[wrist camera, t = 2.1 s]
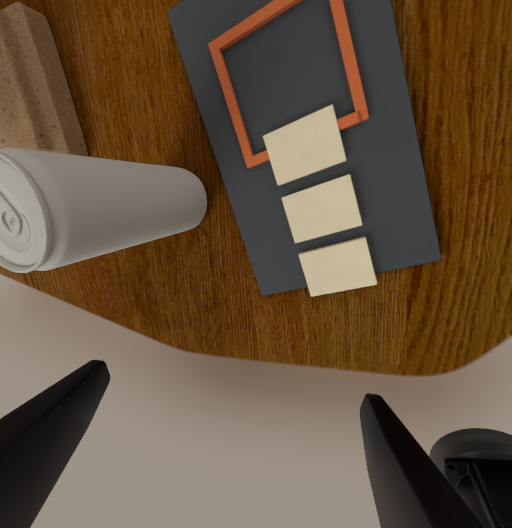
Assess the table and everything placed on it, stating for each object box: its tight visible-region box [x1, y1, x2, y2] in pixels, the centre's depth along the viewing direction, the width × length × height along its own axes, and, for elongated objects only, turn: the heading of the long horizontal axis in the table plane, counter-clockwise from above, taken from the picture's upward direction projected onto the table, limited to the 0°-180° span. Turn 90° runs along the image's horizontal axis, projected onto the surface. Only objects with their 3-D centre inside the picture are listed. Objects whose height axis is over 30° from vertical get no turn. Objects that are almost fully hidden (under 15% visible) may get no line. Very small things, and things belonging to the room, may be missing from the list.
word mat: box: [167, 0, 441, 297], centre depth 16 cm, size 21×12×1 cm, turn 19°
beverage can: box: [0, 148, 207, 273], centre depth 15 cm, size 5×5×12 cm
